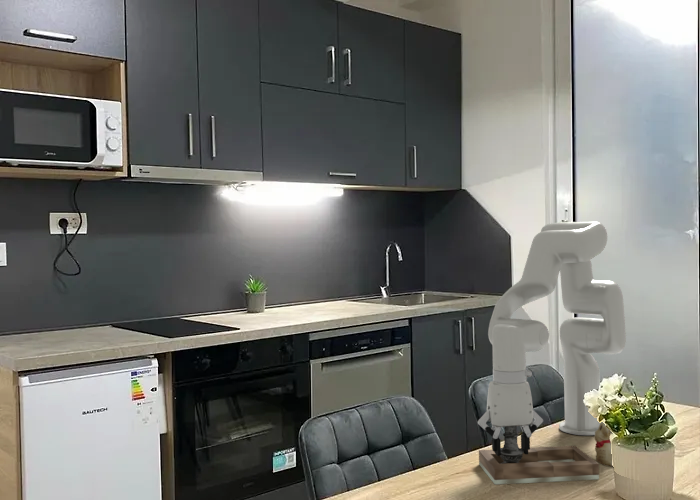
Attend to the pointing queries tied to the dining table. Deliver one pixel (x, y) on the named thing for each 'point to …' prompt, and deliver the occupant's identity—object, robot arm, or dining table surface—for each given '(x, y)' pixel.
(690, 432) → the dining table surface
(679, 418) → the dining table surface
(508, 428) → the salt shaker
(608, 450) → the chocolate bunny
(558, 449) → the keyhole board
